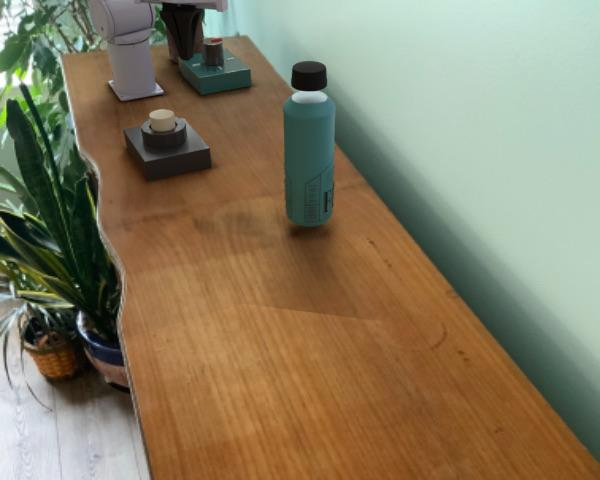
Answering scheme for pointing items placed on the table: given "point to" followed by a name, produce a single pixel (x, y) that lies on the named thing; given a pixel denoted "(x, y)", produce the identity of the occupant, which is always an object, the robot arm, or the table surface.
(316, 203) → the beverage bottle
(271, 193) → the table surface
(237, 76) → the dial panel
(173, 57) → the dark brown tall block
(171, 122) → the push button
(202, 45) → the knob
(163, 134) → the button base
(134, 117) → the table surface
